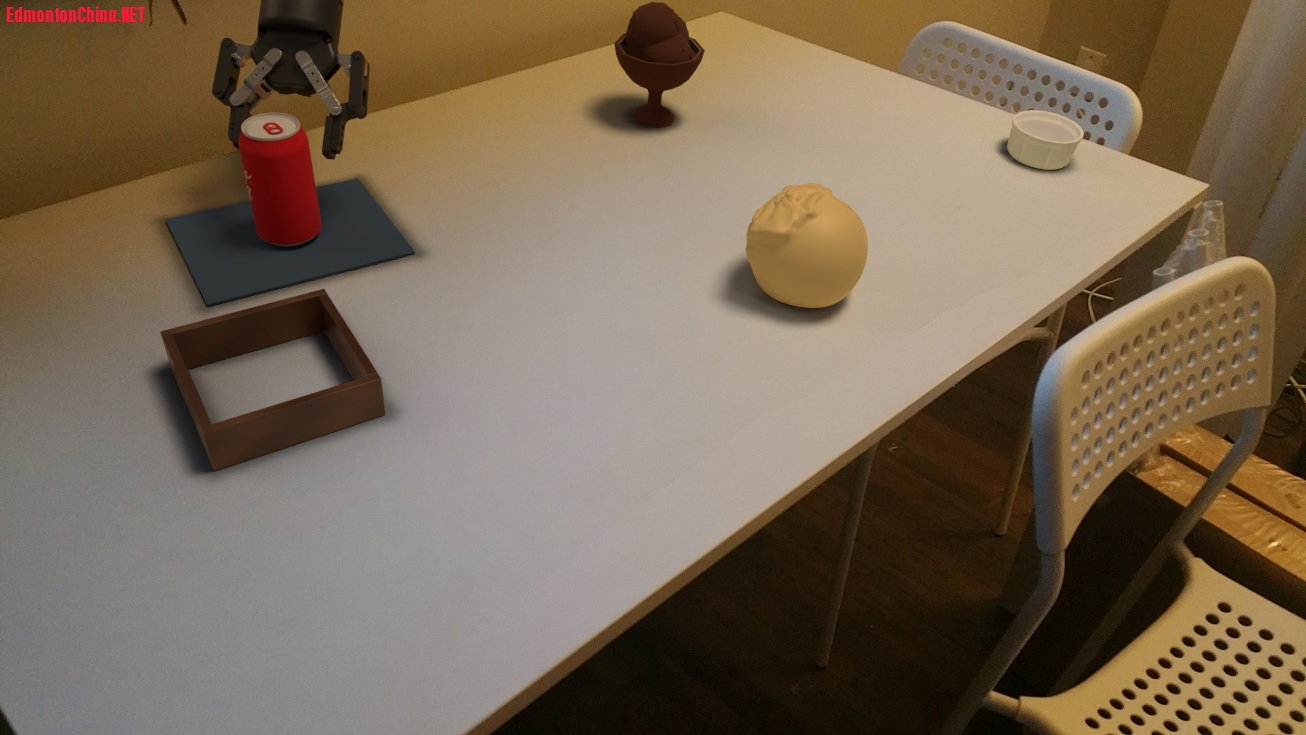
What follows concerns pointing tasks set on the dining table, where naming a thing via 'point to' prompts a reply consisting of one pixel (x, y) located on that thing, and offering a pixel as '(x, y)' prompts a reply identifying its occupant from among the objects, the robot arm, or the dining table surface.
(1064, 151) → the ramekin
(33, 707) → the dining table surface
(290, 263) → the cloth mat
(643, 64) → the ice cream bowl
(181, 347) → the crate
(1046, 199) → the dining table surface
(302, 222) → the beverage can
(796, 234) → the sculpture
